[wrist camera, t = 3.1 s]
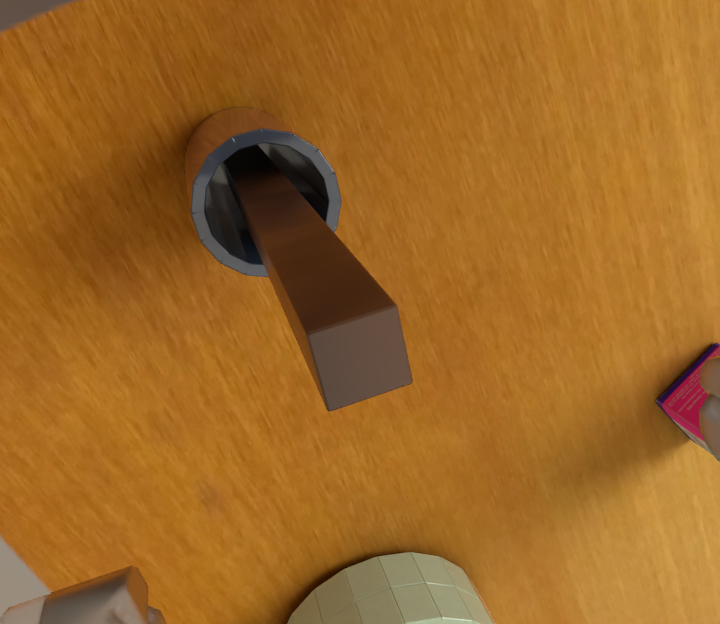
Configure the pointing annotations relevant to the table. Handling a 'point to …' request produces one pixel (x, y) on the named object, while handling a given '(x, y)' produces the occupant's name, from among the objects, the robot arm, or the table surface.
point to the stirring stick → (320, 287)
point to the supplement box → (688, 399)
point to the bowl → (396, 594)
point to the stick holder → (212, 189)
